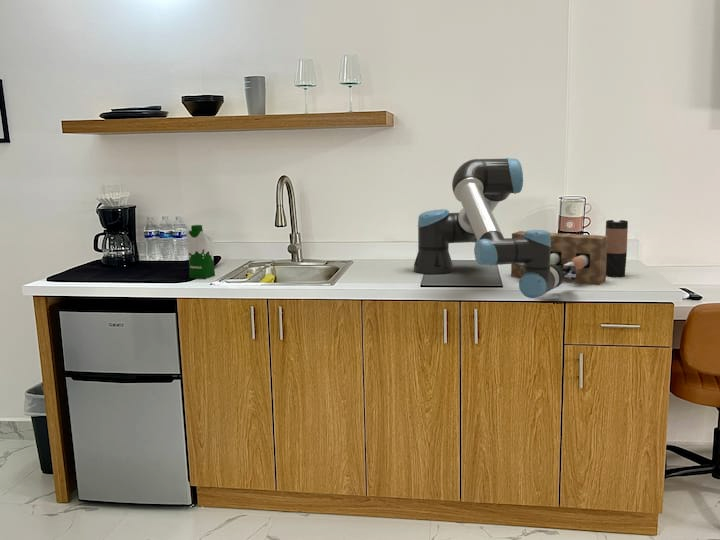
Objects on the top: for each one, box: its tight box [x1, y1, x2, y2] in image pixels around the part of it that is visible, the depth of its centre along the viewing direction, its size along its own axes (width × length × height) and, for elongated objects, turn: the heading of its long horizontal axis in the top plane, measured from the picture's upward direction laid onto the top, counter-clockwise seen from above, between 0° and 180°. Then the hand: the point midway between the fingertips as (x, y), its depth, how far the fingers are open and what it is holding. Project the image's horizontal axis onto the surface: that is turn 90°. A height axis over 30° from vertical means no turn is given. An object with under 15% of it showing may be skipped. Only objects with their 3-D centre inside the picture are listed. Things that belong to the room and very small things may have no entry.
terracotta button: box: [571, 255, 589, 270], centre depth 254 cm, size 4×7×4 cm, turn 147°
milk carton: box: [185, 224, 216, 280], centre depth 281 cm, size 9×9×20 cm
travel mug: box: [604, 219, 629, 278], centre depth 269 cm, size 8×8×20 cm
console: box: [510, 230, 608, 286], centre depth 264 cm, size 32×8×16 cm, turn 57°
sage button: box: [550, 253, 561, 265], centre depth 259 cm, size 4×7×4 cm, turn 147°
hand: (571, 266), depth 246 cm, fingers closed
